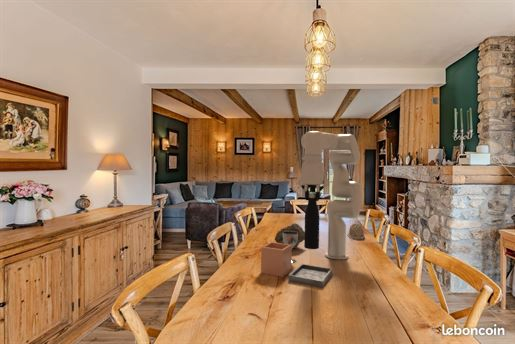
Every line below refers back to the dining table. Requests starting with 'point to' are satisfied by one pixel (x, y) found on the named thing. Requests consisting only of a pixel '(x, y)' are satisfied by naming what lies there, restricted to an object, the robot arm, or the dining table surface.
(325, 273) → the tray
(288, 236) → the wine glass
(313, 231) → the wine bottle
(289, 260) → the box
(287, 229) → the rock
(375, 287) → the dining table surface
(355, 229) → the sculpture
